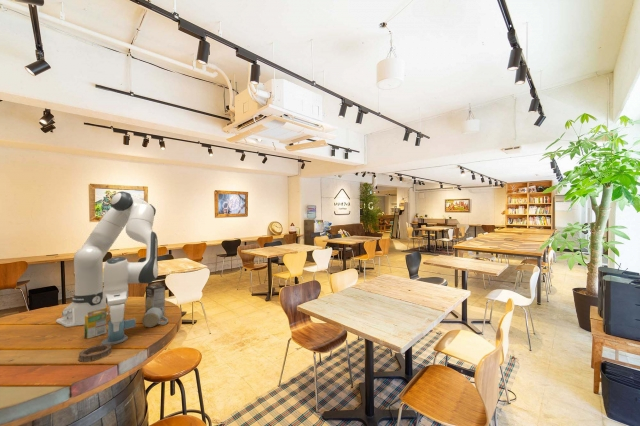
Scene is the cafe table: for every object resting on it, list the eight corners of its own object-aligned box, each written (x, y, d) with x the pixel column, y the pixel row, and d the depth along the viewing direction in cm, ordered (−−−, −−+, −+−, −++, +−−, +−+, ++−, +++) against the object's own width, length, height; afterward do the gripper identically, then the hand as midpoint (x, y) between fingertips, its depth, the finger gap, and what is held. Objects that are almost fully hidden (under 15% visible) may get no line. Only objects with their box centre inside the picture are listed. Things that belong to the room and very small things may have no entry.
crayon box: (103, 331, 124) (104, 306, 124) (106, 333, 122) (107, 307, 123) (84, 337, 117) (84, 311, 118) (87, 339, 116) (87, 312, 116)
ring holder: (73, 359, 99) (73, 353, 99) (100, 347, 108) (100, 342, 108) (89, 363, 96) (89, 357, 96) (116, 351, 105) (116, 346, 105)
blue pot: (108, 343, 111) (108, 323, 111) (107, 338, 115) (107, 320, 115) (135, 336, 117) (136, 318, 117) (134, 332, 121) (134, 314, 122)
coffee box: (144, 316, 144) (144, 286, 145) (156, 312, 150) (157, 284, 150) (152, 319, 139) (153, 288, 140) (165, 315, 145) (165, 286, 145)
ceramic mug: (141, 329, 126) (141, 313, 126) (145, 323, 134) (146, 307, 134) (166, 326, 130) (167, 310, 130) (169, 320, 138) (169, 305, 138)
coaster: (96, 343, 112) (96, 342, 112) (118, 335, 120) (118, 333, 120) (110, 347, 109) (110, 345, 109) (132, 337, 117) (132, 336, 117)
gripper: (105, 291, 121) (104, 322, 120) (107, 302, 105) (107, 337, 105) (122, 289, 125) (121, 319, 124) (127, 299, 109) (126, 332, 109)
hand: (115, 327), depth 115 cm, fingers open, 8 cm apart
